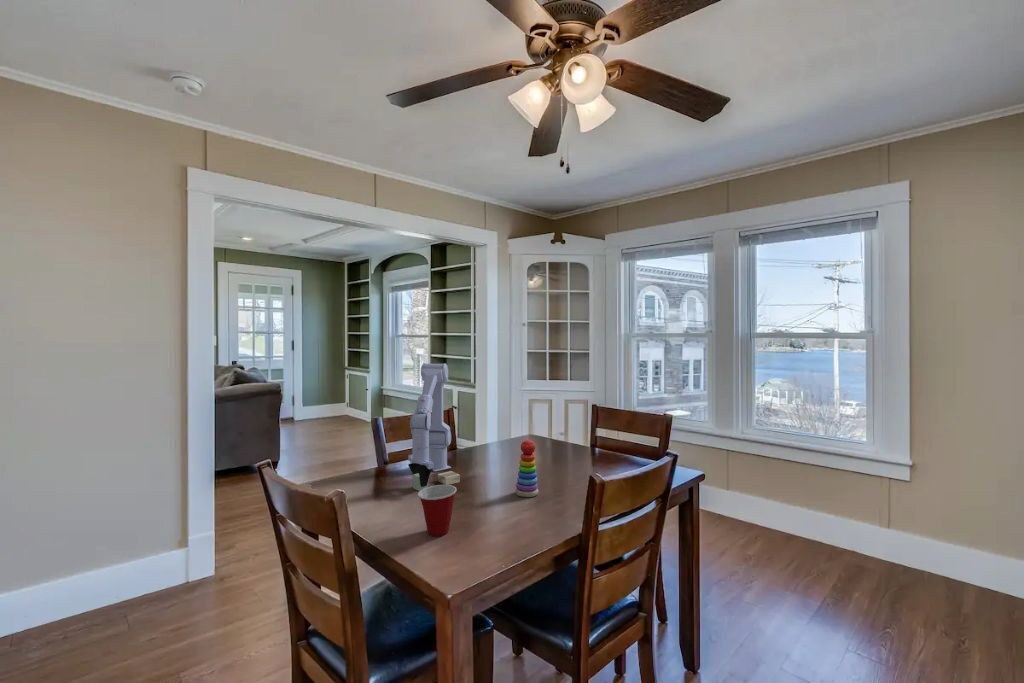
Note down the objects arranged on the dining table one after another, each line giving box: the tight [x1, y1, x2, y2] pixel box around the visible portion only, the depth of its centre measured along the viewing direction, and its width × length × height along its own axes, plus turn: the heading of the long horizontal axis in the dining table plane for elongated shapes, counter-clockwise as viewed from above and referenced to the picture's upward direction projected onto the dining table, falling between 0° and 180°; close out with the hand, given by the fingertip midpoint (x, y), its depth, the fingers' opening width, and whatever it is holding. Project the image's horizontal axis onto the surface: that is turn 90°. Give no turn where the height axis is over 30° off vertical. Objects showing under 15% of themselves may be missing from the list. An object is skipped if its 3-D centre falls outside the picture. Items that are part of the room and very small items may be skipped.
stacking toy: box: [515, 439, 540, 498], centre depth 160 cm, size 8×8×19 cm
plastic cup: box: [417, 484, 457, 538], centre depth 130 cm, size 11×11×12 cm
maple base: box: [437, 470, 461, 485], centre depth 174 cm, size 6×6×3 cm
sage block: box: [412, 473, 429, 492], centre depth 166 cm, size 4×4×5 cm
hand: (420, 484), depth 166 cm, fingers closed on sage block, 4 cm apart
